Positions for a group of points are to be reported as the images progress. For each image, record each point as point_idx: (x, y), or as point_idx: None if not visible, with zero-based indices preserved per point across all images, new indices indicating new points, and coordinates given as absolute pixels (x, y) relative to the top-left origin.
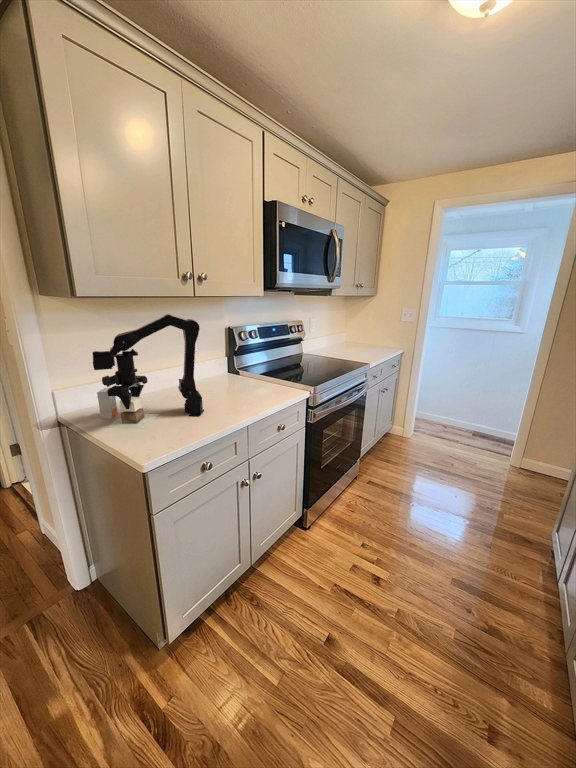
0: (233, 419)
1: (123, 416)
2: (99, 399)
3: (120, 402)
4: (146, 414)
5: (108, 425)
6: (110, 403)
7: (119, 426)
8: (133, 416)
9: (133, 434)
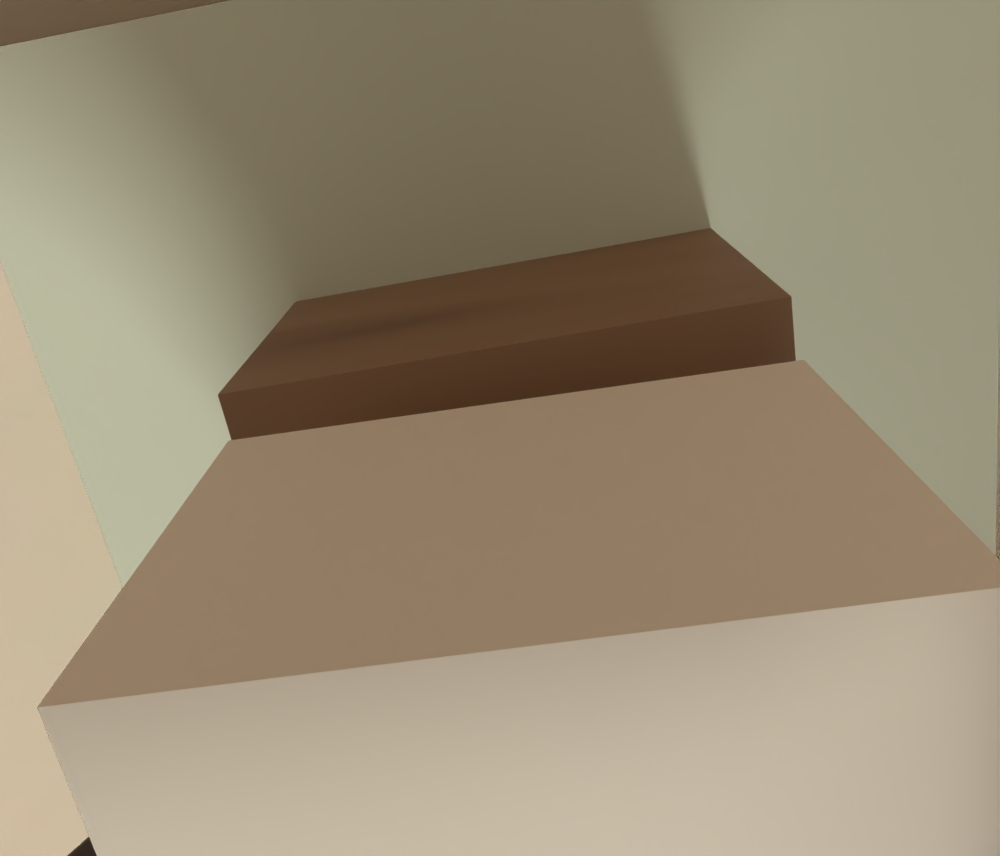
0: None
1: None
2: None
3: (83, 699)
4: (959, 515)
5: (47, 40)
6: None
7: (115, 381)
8: None
9: (33, 784)
